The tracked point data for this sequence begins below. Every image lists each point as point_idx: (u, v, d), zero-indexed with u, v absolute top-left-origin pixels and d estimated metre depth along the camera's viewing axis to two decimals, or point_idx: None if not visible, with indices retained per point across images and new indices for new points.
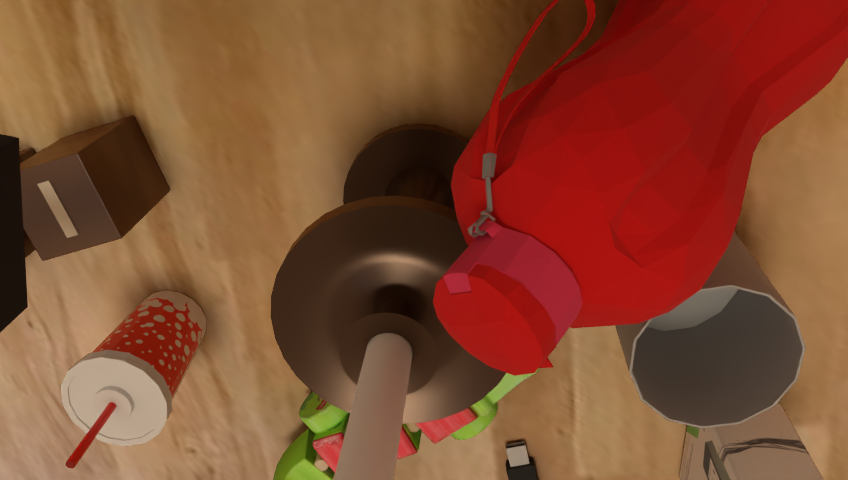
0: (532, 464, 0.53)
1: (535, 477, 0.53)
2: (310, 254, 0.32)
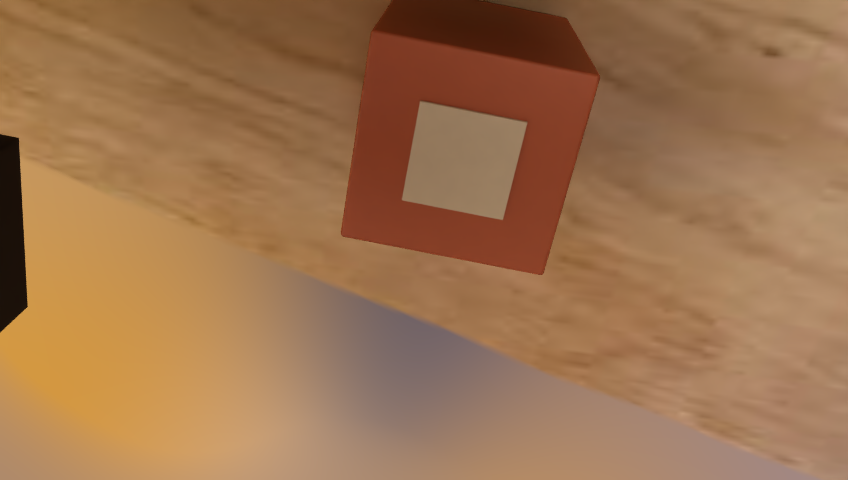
0: None
1: None
2: None
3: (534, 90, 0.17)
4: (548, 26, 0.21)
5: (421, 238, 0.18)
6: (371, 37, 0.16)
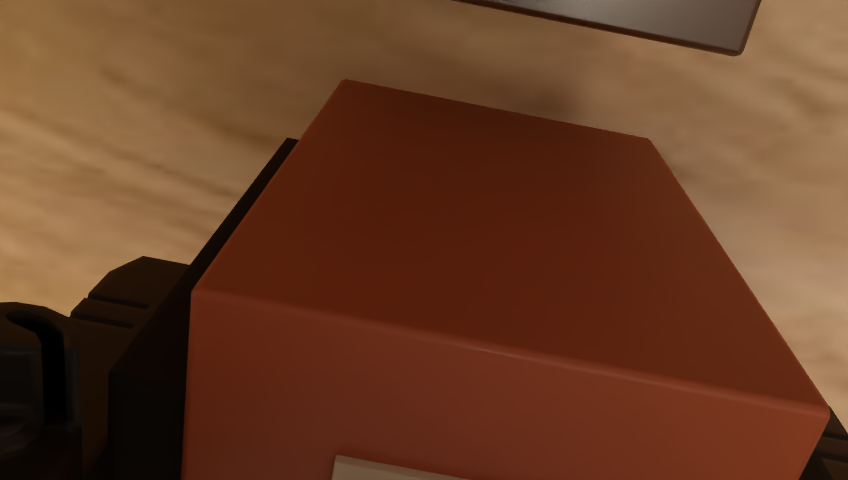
0: None
1: None
2: None
3: (644, 440, 0.06)
4: (628, 176, 0.10)
5: None
6: (192, 306, 0.06)
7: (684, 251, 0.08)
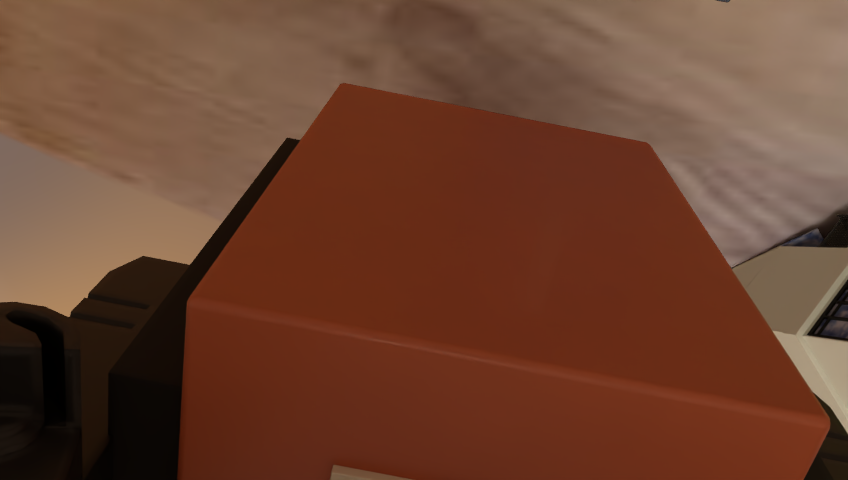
0: None
1: None
2: None
3: (643, 450, 0.06)
4: (627, 181, 0.10)
5: None
6: (188, 315, 0.06)
7: (683, 258, 0.08)
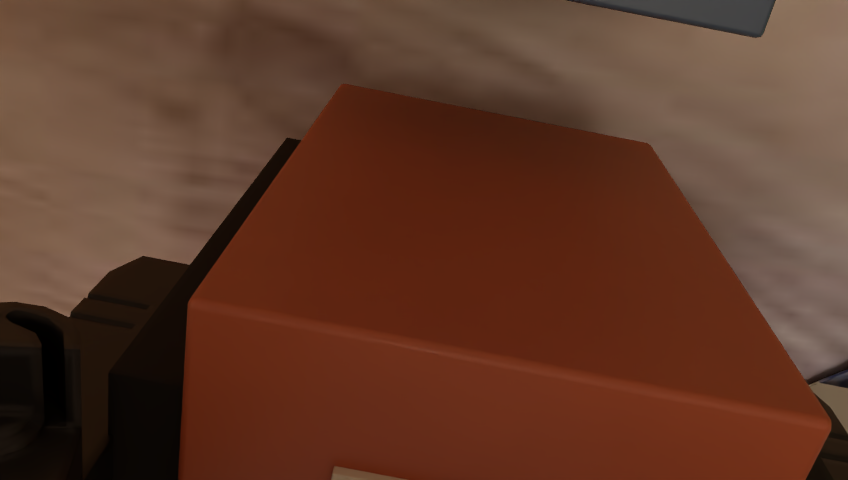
0: None
1: None
2: None
3: (644, 451, 0.06)
4: (628, 181, 0.10)
5: None
6: (189, 317, 0.06)
7: (684, 259, 0.08)
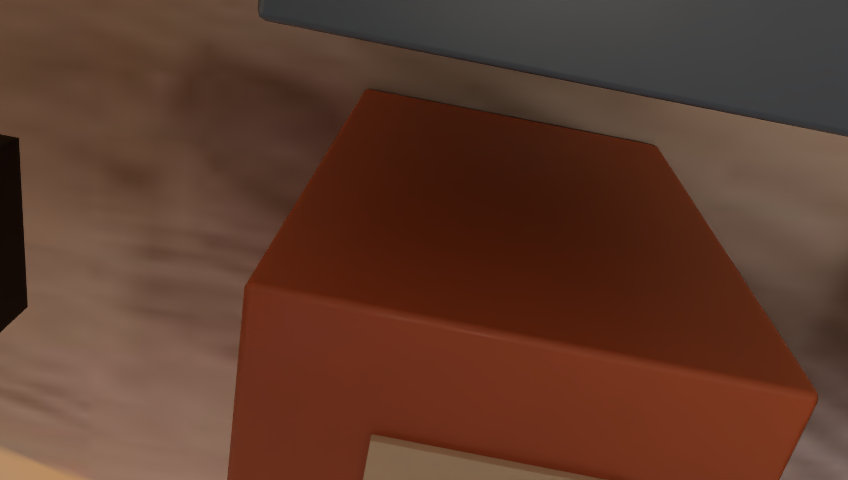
0: None
1: None
2: None
3: (651, 421, 0.07)
4: (636, 181, 0.11)
5: None
6: (245, 299, 0.07)
7: (688, 252, 0.09)
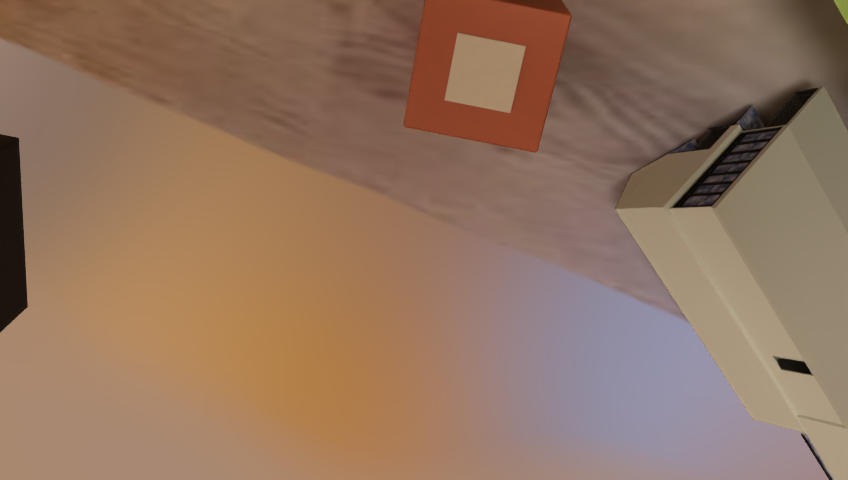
0: None
1: None
2: None
3: (530, 25, 0.26)
4: None
5: (456, 127, 0.28)
6: None
7: (550, 1, 0.28)
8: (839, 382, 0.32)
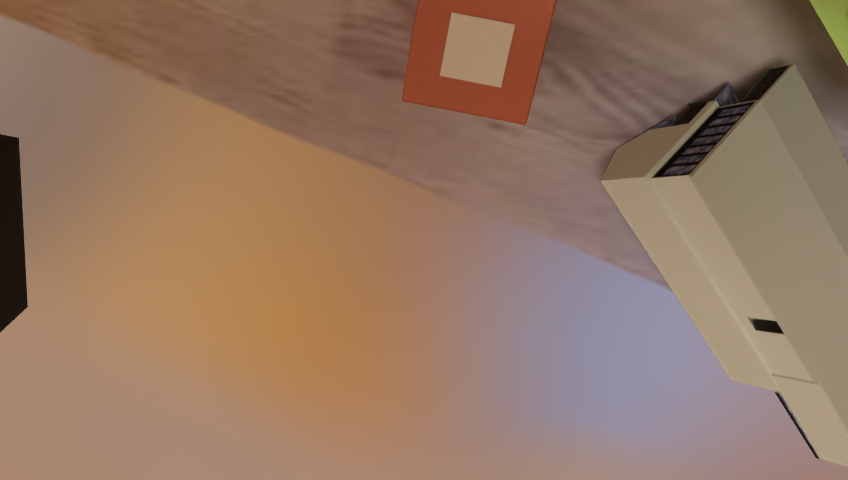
0: None
1: None
2: None
3: (519, 4, 0.28)
4: None
5: (451, 101, 0.30)
6: None
7: None
8: (809, 341, 0.34)
